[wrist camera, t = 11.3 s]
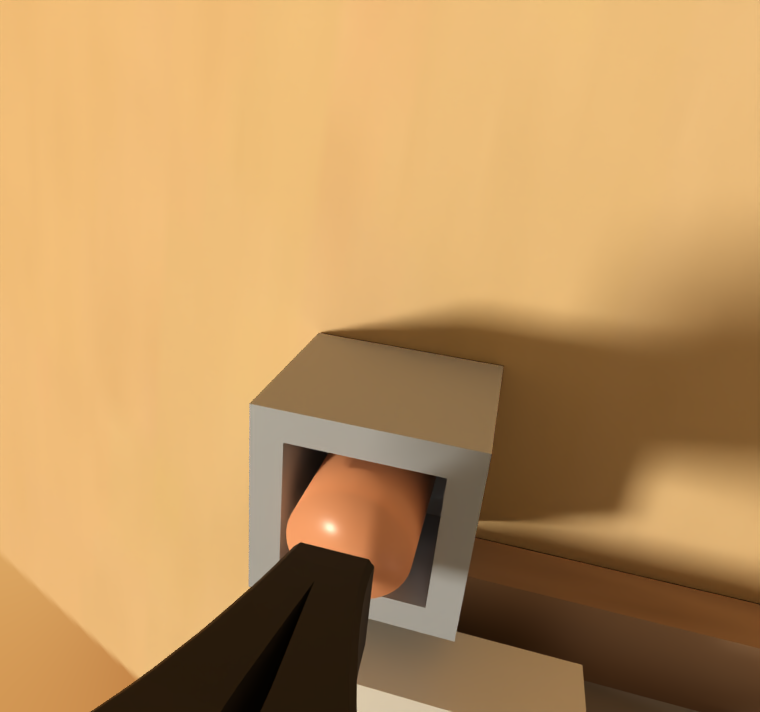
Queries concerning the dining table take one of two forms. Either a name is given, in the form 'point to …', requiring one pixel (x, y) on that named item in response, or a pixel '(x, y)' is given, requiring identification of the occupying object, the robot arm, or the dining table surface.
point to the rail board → (618, 631)
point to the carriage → (461, 675)
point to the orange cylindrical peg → (364, 515)
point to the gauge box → (379, 456)
